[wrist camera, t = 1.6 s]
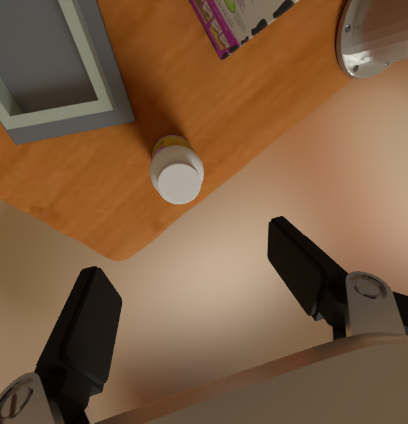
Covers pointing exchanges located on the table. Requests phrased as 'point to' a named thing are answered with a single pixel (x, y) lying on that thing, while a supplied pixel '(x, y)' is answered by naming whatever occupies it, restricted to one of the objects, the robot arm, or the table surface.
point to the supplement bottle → (176, 169)
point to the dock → (57, 70)
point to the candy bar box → (236, 20)
